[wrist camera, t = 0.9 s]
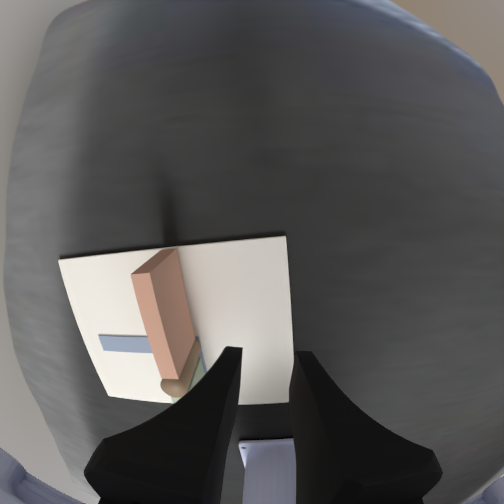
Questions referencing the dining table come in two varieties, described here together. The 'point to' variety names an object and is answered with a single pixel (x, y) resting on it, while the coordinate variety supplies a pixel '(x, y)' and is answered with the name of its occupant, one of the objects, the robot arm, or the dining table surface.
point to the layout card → (201, 312)
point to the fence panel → (167, 320)
